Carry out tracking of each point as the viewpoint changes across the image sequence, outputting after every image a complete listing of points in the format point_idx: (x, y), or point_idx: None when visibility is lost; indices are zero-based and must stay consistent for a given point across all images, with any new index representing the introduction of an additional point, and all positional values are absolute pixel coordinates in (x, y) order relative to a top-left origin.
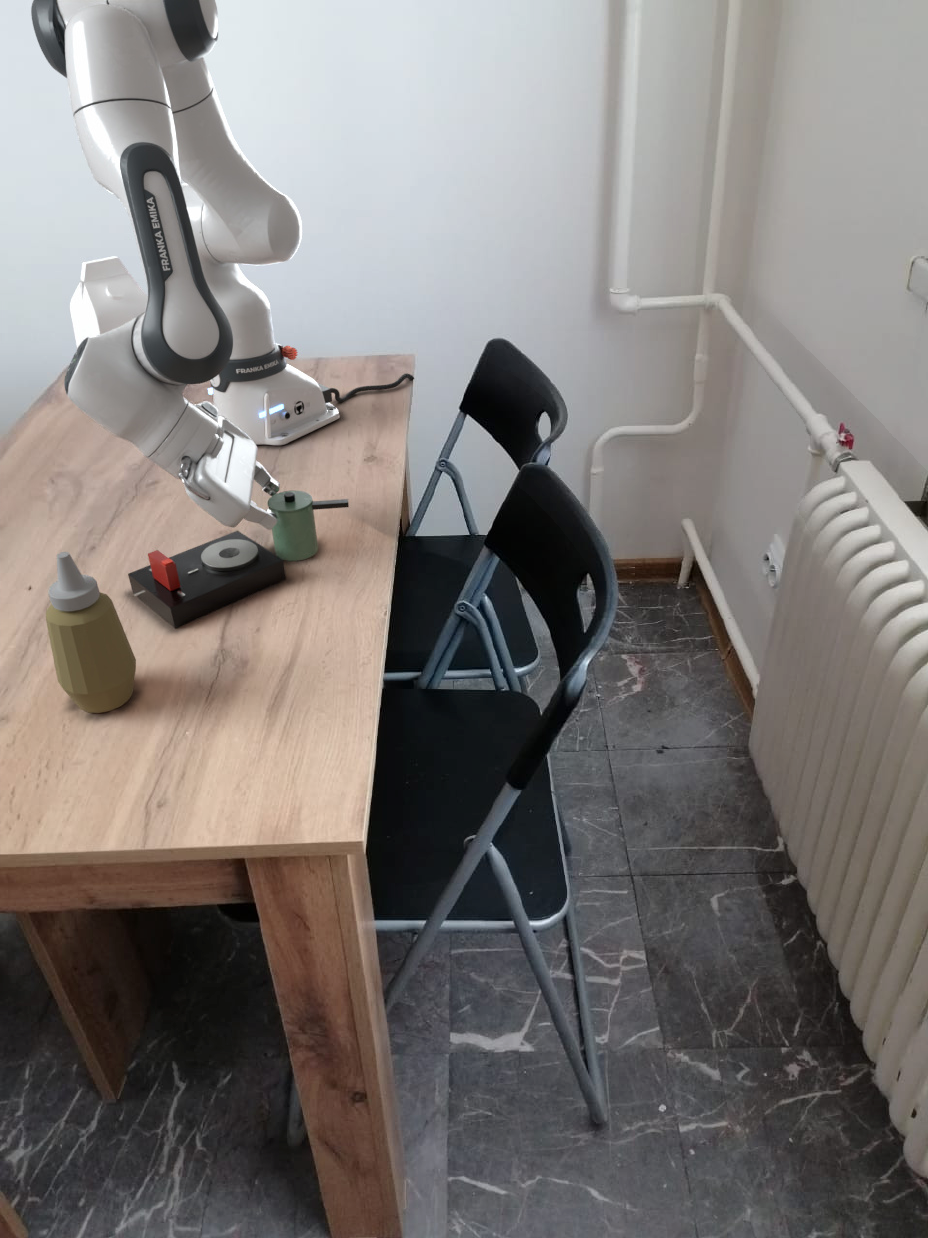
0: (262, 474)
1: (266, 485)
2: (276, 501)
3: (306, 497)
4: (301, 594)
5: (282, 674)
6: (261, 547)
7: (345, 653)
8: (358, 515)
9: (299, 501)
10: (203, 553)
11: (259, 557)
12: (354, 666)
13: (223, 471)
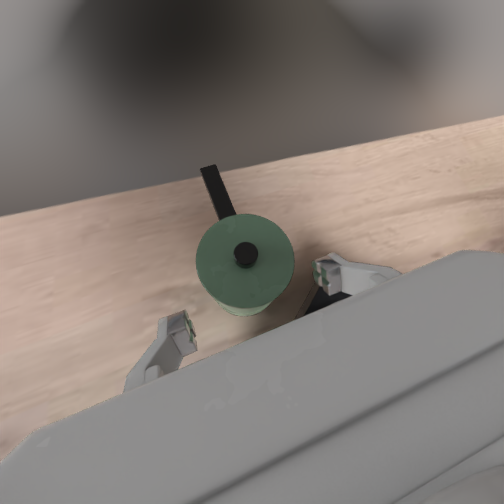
0: (160, 362)
1: (189, 340)
2: (257, 284)
3: (225, 229)
4: (348, 234)
5: (488, 199)
6: (312, 307)
7: (427, 156)
8: (124, 232)
9: (246, 236)
10: None
11: (342, 296)
12: (440, 144)
13: (480, 377)
